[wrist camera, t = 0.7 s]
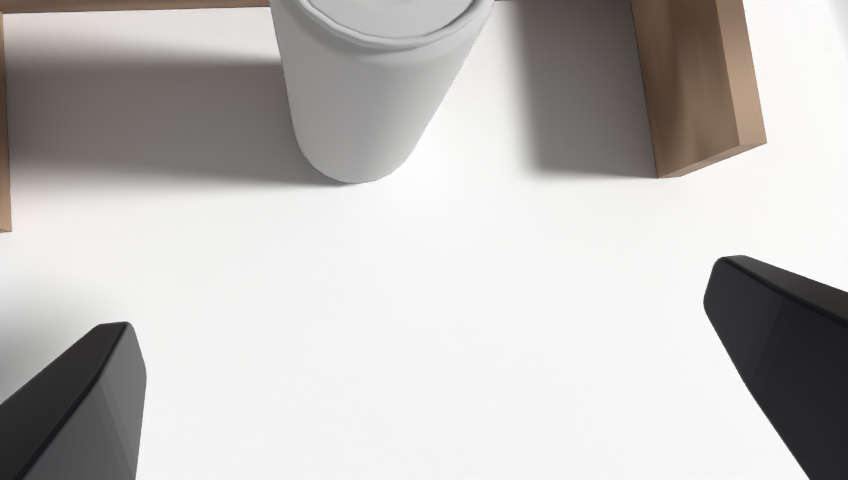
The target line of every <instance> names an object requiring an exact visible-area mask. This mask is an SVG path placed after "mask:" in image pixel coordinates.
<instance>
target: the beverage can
mask: <svg viewBox="0 0 848 480" xmlns="http://www.w3.org/2000/svg"><path fill="white" fill-rule="evenodd" d="M494 1H495V0H269V2H270V8H271V13H272V18H273V23H274V28H275V34H276V38H277V43H278V47H279V52H280V56H281V61H282V66H283V72H284V77H285V83H286V89H287V95H288V101H289V107H290V113H291V119H292V124H293V128H294V133H295V137H296V140H297V142H298V144H299V147H300V149H301V151H302V153H303V155H304V156H305V157H306V159H307V160H308V161H309V162H310V164H311V165H312V166H313V167H314V168H316V169H317V170H319V171H320V172H321V173H323V174H324V175H326V176H328V177H330V178H333V179H336V180H338V181H341V182H346V183H357V184H361V183H366V182H372V181H376V180H378V179H380V178H383V177H385V176H387V175H389V174H391V173H392V172H393V171H394V170H395V169H397V168H398V167H399V166H400V165H402V164H403V163H404V161H405V160H406V159H407V158H408V156H409V155H410V154H411V153H412V151H413V150H414V148H415V146H416V144H417V142H418V141H419V139H420V137H421V135H422V134H423V132H424V130H425V128H426V127H427V125H428V123H429V122H430V120H431V118H432V117H433V115H434V113H435V112H436V110H437V108H438V107H439V105H440V103H441V102H442V100H443V98H444V96H445V95H446V93H447V91H448V89H449V88H450V86H451V84H452V82H453V80H454V79H455V77H456V75H457V73H458V71H459V70H460V68H461V66H462V64H463V62H464V61H465V59H466V57H467V55H468V53H469V51H470V50H471V48H472V46H473V44H474V42H475V41H476V39H477V37H478V35H479V33H480V31H481V30H482V28H483V26H484V24H485V22H486V21H487V19H488V17H489V15H490V12H491V10H492V7H493V4H494Z"/></svg>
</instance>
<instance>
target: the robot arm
mask: <svg viewBox="0 0 848 480" xmlns="http://www.w3.org/2000/svg"><path fill="white" fill-rule="evenodd" d="M703 304H704V309H705V312H706V315H707V316H708V318H709V320H710V322H711V324H712V326H713V327H714V329H715V331H716V333H717V335H718V336H719V338H720V340H721V342H722V344H723V346H724V347H725V349H726V351H727V353H728V355H729V356H730V358H731V360H732V362H733V364H734V366H735V367H736V369H737V371H738V373H739V375H740V377H741V378H742V380H743V382H744V383H745V385H746V387H747V389H748V390H749V392H750V393H751V395H752V396H753V398H754V399H755V401H756V402H757V404H758V405H759V407H760V408H761V410H762V411H763V413H764V414H765V416H766V417H767V418H768V420H769V421H770V423H771V424H772V426H773V427H774V429H775V430H776V432H777V433H778V434H779V436H780V437H781V439H782V440H783V442H784V443H785V445H786V446H787V448H788V449H789V450H790V452H791V453H792V455H793V456H794V458H795V459H796V461H797V462H798V464H799V465H800V467H801V468H802V469H803V471H804V472H805V474H806V475H807V477H808V478H809V480H848V292H845V291H842V290H840V289H837V288H834V287H831V286H829V285H826V284H823V283H820V282H817V281H815V280H812V279H809V278H806V277H804V276H801V275H798V274H795V273H793V272H790V271H787V270H784V269H781V268H779V267H776V266H773V265H770V264H768V263H765V262H762V261H759V260H756V259H754V258H751V257H748V256H745V255H736V256H727V257H721V258H719V259H718V260H717V261H716V262H715V263H714V265H713V268H712V272H711V275H710V278H709V282H708V285H707V288H706V291H705V295H704V299H703ZM145 391H146V368H145V363H144V360H143V357H142V353H141V350H140V347H139V343H138V340H137V337H136V333H135V330H134V328H133V326H132V325H131V324H130V323H129V322H125V321H124V322H115V323H105V324H99V325H97V326H96V327H94V328H93V329H91V330H90V331H89V332H88V333H87V334H85V335H84V336H83V337H82V338H81V339H79V340H78V341H77V342H76V343H74V344H73V345H72V346H71V347H70V348H68V349H67V350H66V351H65V352H64V353H62V354H61V355H60V356H59V357H58V358H56V359H55V360H54V361H53V362H51V363H50V364H49V365H48V366H47V367H45V368H44V369H43V370H42V371H41V372H39V373H38V374H37V375H36V376H35V377H33V378H32V379H31V380H30V381H28V382H27V383H26V384H25V385H24V386H22V387H21V388H20V389H19V390H18V391H16V392H15V393H14V394H13V395H11V396H10V397H9V398H8V399H7V400H5V401H4V402H3V403H2V404H1V405H0V480H135V478H136V471H137V463H138V454H139V445H140V436H141V427H142V418H143V409H144V400H145Z"/></svg>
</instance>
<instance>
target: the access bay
mask: <svg viewBox="0 0 848 480" xmlns="http://www.w3.org/2000/svg"><path fill="white" fill-rule="evenodd" d="M261 6H270V2H269V0H0V232H12V228H11V204H10V181H9V157H8V134H7V110H6V87H5V63H4V40H3V16H2V13H30V12H69V11H107V10H146V9H184V8H223V7H261ZM631 6H632V12H633V19H634V25H635V32H636V38H637V45H638V51H639V58H640V64H641V71H642V77H643V84H644V90H645V97H646V103H647V110H648V116H649V122H650V129H651V135H652V142H653V148H654V155H655V161H656V168H657V174H658V178H669V177H681V176H683V175H686V174H688V173H691V172H693V171H696V170H699V169H701V168H704V167H706V166H709V165H712V164H714V163H717V162H719V161H722V160H724V159H727V158H730V157H732V156H735V155H737V154H740V153H742V152H745V151H748V150H750V149H753V148H755V147H758V146H761V145H763V144H766V143H767V139H766V134H765V128H764V122H763V116H762V111H761V105H760V99H759V93H758V88H757V82H756V76H755V70H754V65H753V59H752V53H751V47H750V42H749V36H748V30H747V24H746V19H745V13H744V7H743V1H742V0H631Z"/></svg>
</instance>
